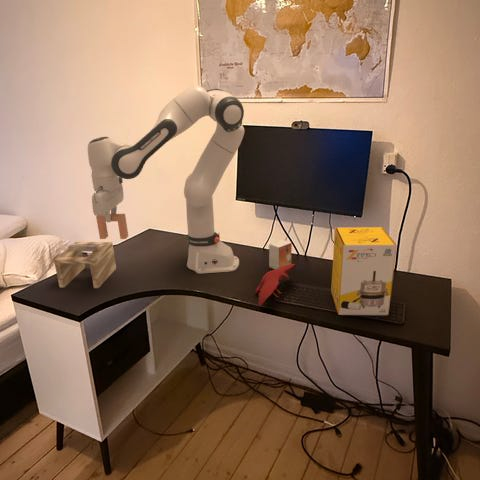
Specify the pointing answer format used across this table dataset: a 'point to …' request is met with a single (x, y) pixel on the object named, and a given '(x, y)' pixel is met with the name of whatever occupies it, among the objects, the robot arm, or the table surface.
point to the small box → (280, 254)
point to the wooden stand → (74, 261)
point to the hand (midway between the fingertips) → (111, 219)
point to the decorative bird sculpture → (271, 282)
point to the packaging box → (362, 270)
